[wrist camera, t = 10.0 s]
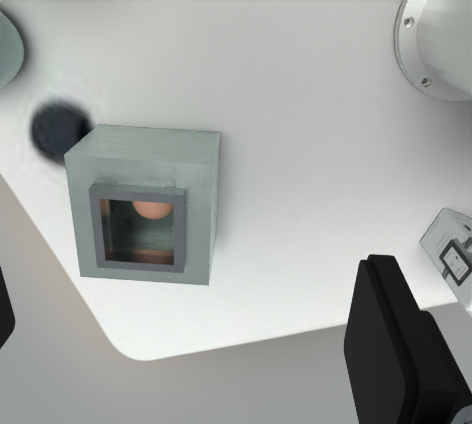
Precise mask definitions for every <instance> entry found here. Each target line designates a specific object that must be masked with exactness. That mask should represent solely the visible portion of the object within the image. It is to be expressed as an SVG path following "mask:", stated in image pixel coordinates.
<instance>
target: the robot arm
mask: <svg viewBox="0 0 472 424" xmlns="http://www.w3.org/2000/svg"><path fill="white" fill-rule="evenodd" d="M406 18H408V23H407V24H406V25H405V24H404V20H405V19H406ZM394 41H395V50H396V56H397V59H398V62H399V65H400V67H401V69H402V71H403V73H404V74H405V76H406V78H407V79H408V80H409V81H410V82H411V83H412V84H413V85H414V86H415V87H416V88H418V89H419V90H421V91H422V92H424V93H425V94H427V95H429V96H431V97H433V98H437V99H441V100H444V101H455V102H460V101H469V100H472V0H403V3H402V5H401V7H400V9H399V13H398V17H397V21H396V26H395V38H394ZM424 78H425V79H426V81H425V82H424V83H422V80H423V79H424ZM14 327H15V317H14V313H13V309H12V307H11V302H10V299H9V296H8V292H7V288H6V285H5V281H4V278H3V274H2V271H1V267H0V349H1V347H2V346H3V345H4V343H5V342H6V340H7V339H8V338H9V336H10V335H11V334H12V332H13V330H14ZM344 355H345V359H346V364H347V369H348V374H349V379H350V383H351V388H352V393H353V397H354V402H355V407H356V411H357V416H358V421H359V424H472V393H471V391H470V389H469V387H468V385H467V383H466V381H465V379H464V377H463V375H462V373H461V371H460V369H459V367H458V365H457V363H456V361H455V359H454V357H453V356H452V353H451V352H450V349H449V348H448V345H447V343H446V341H445V339H444V338H443V335H442V333H441V331H440V330H439V328H438V326H437V324H436V322H435V320H434V318H433V316H432V315H431V314H430V313H429V312H428V311H420V309H419V307H418V305H417V303H416V301H415V299H414V297H413V294H412V292H411V290H410V288H409V286H408V284H407V282H406V280H405V278H404V275H403V273H402V271H401V269H400V267H399V265H398V263H397V261H396V259H395V257H394V256H391V255H374V254H370V255H369V256H368V258H367V260H360V263H359V267H358V272H357V277H356V282H355V287H354V293H353V298H352V303H351V308H350V313H349V318H348V323H347V328H346V334H345V339H344Z"/></svg>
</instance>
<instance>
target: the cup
mask: <svg viewBox="0 0 472 424" xmlns="http://www.w3.org/2000/svg"><path fill="white" fill-rule="evenodd" d="M23 59H24V46H23V42H22V39H21V37H20V34H19V33H18V31H17V29H16V27H15V26H14V25H13V24H12V22H11V21H10V20H9V19H8V18H7V17H6V16H5V15H4V14H3V13H2V12H1V11H0V89H1V88H2V87H3V86H5V85H6V84H7V83H9V82H10V81H11V80H12V79H13V78H14V77H15V75H16V74H17V73H18V71H19V69H20V68H21V66H22V63H23Z"/></svg>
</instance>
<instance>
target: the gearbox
mask: <svg viewBox="0 0 472 424" xmlns="http://www.w3.org/2000/svg"><path fill="white" fill-rule="evenodd" d="M219 153H220V132H205V131H190V130H175V129H161V128H146V127H131V126H116V125H101V124H99V125H98V126H97V127H95V128H94V129H93V130H92V131H91V132H90V133H89V134H87V135H86V136H85V137H84V138H83V139H82V140H81V141H80V142H78V143H77V144H76V145H75V146H74V147H73V148H72V149H70V150H69V151H68V152H67V153H66V154H65V155H64V158H65V165H66V172H67V180H68V187H69V195H70V202H71V210H72V217H73V224H74V232H75V239H76V247H77V254H78V262H79V269H80V276H81V277H93V278H107V279H122V280H137V281H151V282H166V283H180V284H195V285H209V281H210V274H211V267H212V260H213V253H214V246H215V239H216V222H217V199H218V176H219ZM132 201H140V202H154V203H169V204H173V210H172V212H171V213H170V214H169V215H167V216H165V217H163V218H160V219H149V218H146V217H144V216H142V215H140V214H139V213H138V212H137V211H136V209H135V208H134V205H133V203H132Z"/></svg>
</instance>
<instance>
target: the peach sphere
mask: <svg viewBox="0 0 472 424" xmlns="http://www.w3.org/2000/svg"><path fill="white" fill-rule="evenodd" d="M132 203H133V205H134V208H135V209H136V211H137V212H138V213H139V214H140V215H142V216H144V217H146V218H149V219H160V218H163V217H165V216H167V215H169V214H170V213H171V212H172V210H173V204H169V203H154V202H140V201H132Z"/></svg>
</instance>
